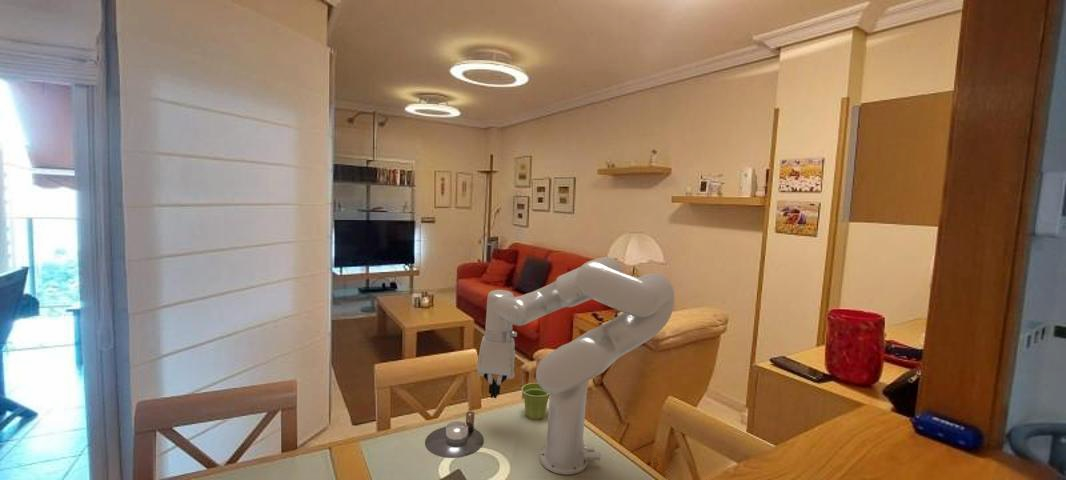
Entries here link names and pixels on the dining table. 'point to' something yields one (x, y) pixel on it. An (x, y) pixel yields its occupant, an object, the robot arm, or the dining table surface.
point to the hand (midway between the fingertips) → (494, 395)
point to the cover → (456, 434)
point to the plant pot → (535, 400)
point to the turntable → (440, 448)
